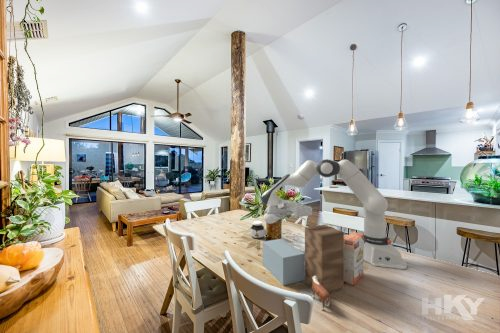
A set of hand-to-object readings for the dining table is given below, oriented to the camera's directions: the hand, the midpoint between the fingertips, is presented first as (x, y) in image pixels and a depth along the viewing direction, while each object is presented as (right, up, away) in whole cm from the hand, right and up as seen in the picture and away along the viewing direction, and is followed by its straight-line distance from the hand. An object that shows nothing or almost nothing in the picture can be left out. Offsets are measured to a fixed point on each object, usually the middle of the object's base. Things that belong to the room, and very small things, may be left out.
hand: (288, 203), depth 122 cm
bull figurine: (+7, -35, -33) cm, 48 cm away
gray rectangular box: (-5, -34, -9) cm, 36 cm away
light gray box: (0, -3, -8) cm, 8 cm away
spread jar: (-14, -33, +43) cm, 56 cm away
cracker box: (+29, -34, -16) cm, 48 cm away
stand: (+13, -34, -22) cm, 42 cm away
